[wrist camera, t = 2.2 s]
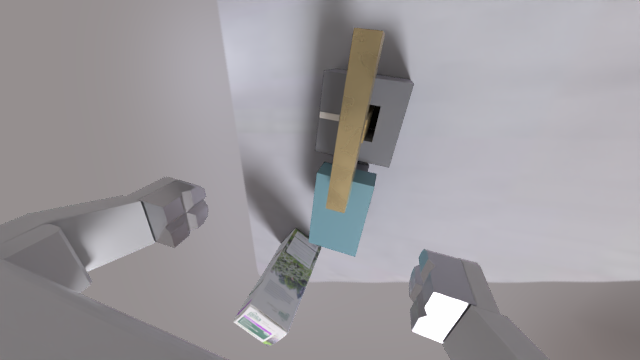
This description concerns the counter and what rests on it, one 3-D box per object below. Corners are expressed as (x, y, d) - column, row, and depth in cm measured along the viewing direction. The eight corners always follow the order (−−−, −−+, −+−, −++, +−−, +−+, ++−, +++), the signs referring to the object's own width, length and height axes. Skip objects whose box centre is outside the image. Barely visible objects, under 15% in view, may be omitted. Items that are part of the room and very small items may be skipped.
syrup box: (280, 244, 41) (230, 323, 28) (296, 226, 38) (247, 307, 25) (305, 262, 41) (266, 349, 29) (323, 246, 38) (288, 335, 26)
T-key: (369, 40, 23) (352, 27, 14) (389, 42, 23) (384, 31, 14) (345, 163, 30) (324, 207, 21) (360, 167, 29) (345, 213, 21)
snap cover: (324, 161, 26) (316, 172, 24) (376, 173, 25) (374, 186, 22) (315, 227, 31) (308, 242, 28) (358, 239, 30) (355, 256, 27)
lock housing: (336, 68, 25) (323, 70, 21) (410, 79, 23) (414, 84, 19) (317, 204, 34) (306, 224, 30) (370, 218, 33) (366, 242, 28)
